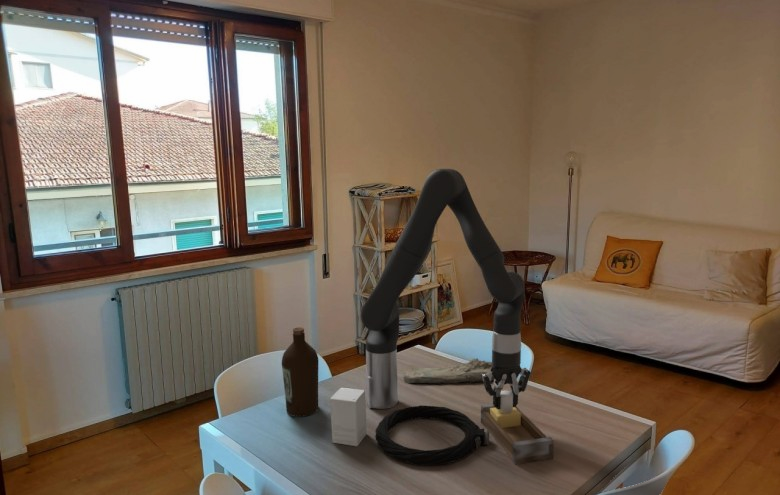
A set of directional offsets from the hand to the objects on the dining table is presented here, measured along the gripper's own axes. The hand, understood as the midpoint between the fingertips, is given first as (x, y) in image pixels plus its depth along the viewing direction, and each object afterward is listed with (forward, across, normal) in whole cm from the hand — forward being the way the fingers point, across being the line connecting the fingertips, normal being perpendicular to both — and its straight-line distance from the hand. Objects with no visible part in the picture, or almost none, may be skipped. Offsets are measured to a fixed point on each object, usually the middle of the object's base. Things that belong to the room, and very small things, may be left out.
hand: (505, 406), depth 152 cm
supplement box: (+7, +42, -6) cm, 43 cm away
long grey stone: (+7, +2, -35) cm, 36 cm away
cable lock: (+7, +21, 0) cm, 22 cm away
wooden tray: (+6, 0, +6) cm, 9 cm away
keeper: (+5, 0, 0) cm, 5 cm away
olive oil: (+7, +53, -26) cm, 59 cm away
